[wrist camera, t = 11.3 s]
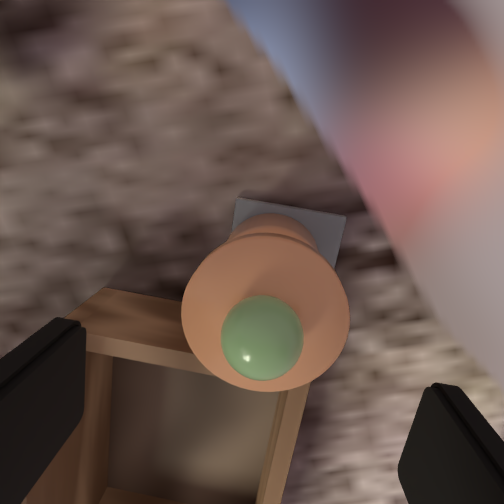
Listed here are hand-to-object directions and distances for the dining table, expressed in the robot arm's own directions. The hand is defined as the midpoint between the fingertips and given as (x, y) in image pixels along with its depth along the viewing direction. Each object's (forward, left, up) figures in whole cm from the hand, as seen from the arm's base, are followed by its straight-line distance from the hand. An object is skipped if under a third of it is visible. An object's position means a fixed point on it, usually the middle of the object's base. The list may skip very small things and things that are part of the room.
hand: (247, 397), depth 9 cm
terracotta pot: (0, 0, -11) cm, 11 cm away
